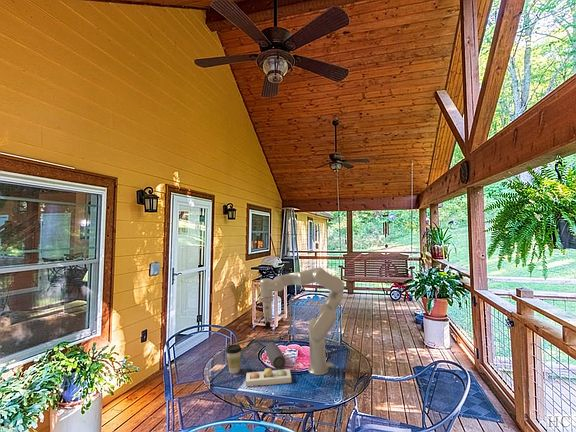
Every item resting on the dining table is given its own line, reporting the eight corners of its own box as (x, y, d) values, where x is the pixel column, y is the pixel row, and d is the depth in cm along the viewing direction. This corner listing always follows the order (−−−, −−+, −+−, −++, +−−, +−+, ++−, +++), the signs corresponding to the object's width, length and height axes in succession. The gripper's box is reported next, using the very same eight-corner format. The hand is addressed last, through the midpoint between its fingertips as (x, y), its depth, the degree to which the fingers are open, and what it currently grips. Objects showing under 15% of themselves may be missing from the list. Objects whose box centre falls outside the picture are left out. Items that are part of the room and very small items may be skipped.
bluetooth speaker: (264, 357, 208) (264, 342, 208) (277, 355, 210) (277, 340, 210) (272, 372, 186) (271, 356, 186) (286, 370, 188) (286, 354, 188)
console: (289, 373, 183) (289, 369, 183) (291, 382, 173) (291, 377, 173) (246, 377, 181) (246, 372, 181) (245, 386, 171) (245, 381, 171)
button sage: (285, 375, 180) (285, 370, 180) (286, 378, 176) (285, 373, 176) (278, 375, 180) (277, 370, 180) (278, 379, 175) (278, 374, 175)
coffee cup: (239, 375, 184) (238, 350, 184) (224, 374, 186) (223, 350, 186) (244, 367, 193) (243, 344, 194) (230, 367, 195) (229, 343, 196)
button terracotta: (258, 377, 179) (258, 372, 179) (258, 381, 174) (258, 376, 174) (251, 378, 178) (250, 373, 178) (250, 382, 174) (250, 376, 174)
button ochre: (271, 372, 179) (271, 367, 180) (272, 376, 175) (272, 371, 175) (264, 373, 179) (264, 368, 179) (264, 377, 175) (264, 372, 175)
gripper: (273, 301, 179) (274, 332, 179) (272, 295, 194) (273, 324, 194) (260, 302, 179) (262, 333, 178) (260, 296, 194) (261, 325, 193)
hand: (268, 328), depth 186 cm, fingers closed
